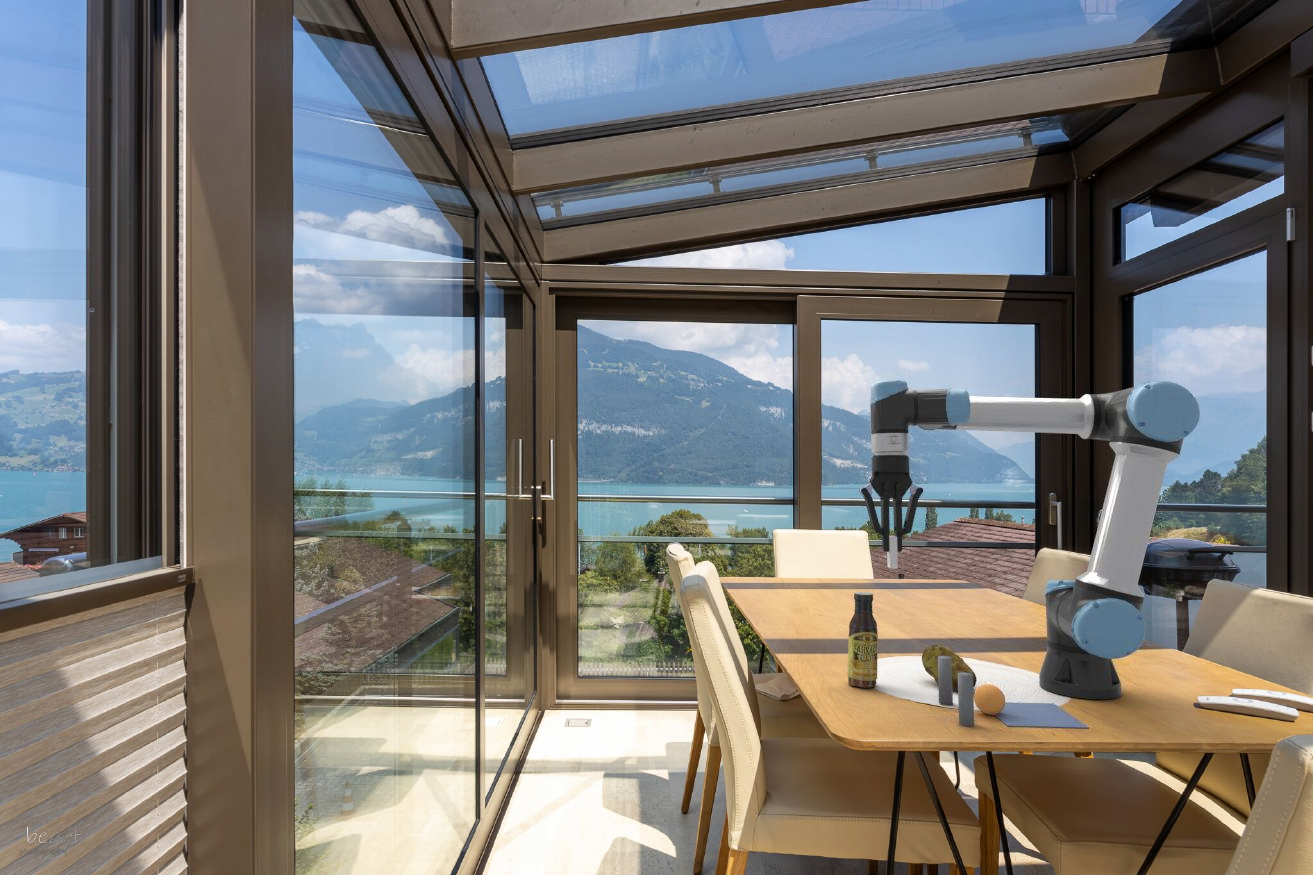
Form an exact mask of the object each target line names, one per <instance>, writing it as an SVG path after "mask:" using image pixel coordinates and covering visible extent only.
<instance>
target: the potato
mask: <svg viewBox="0 0 1313 875" xmlns="http://www.w3.org/2000/svg"><path fill="white" fill-rule="evenodd" d="M938 656H948V657H951V658H952V691H958V673H960V672H965V673H971V674H973V689H974V688H975V687H976V684H977V675H976V674H975V672H974V670H973V669H972V668H971V667H970V666H969V664H967V663H966V662H965V660H964V659H963V658H962V657H961V656H960V655H958V654H957V653H956V652H954V651H953V649H950V648H949V647H948V646H945V645H942V644H932V645H931V646H929V647H926V648H925V649H924V650H923V652H922V654H921V662H922V665H923V668H924V670H925V671H926V673H927V674H928V675H929V676H931V677H932V678H933V679H934V681H935V682H936V684H937V685H938Z"/></svg>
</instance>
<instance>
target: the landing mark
mask: <svg viewBox="0 0 1313 875" xmlns="http://www.w3.org/2000/svg"><path fill="white" fill-rule="evenodd" d="M994 716H995V717H996V718H997V719H998V720H1000V721H1001V722H1002V723H1004V725H1006V726H1007V727H1013V728H1015V727H1016V728H1017V727H1020V728H1050V729H1051V728H1053V729H1054V728H1057V729H1058V728H1059V729H1060V728H1061V729H1089V726H1088V725H1086V724H1085V723H1083V722H1082V721H1080V720H1078V718H1076V717H1074V716H1073V715H1071V714H1070V713H1069V712H1067V711H1065V709H1063V708H1061V707H1060V706H1058V705H1057V704H1056V703H1052V702H1051V703H1050V702H1045V703H1044V702H1014V701H1013V702H1006V701H1005V707H1004V709H1003V710H1002V711H1001V712H1000V713H998V714H995V715H994Z"/></svg>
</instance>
